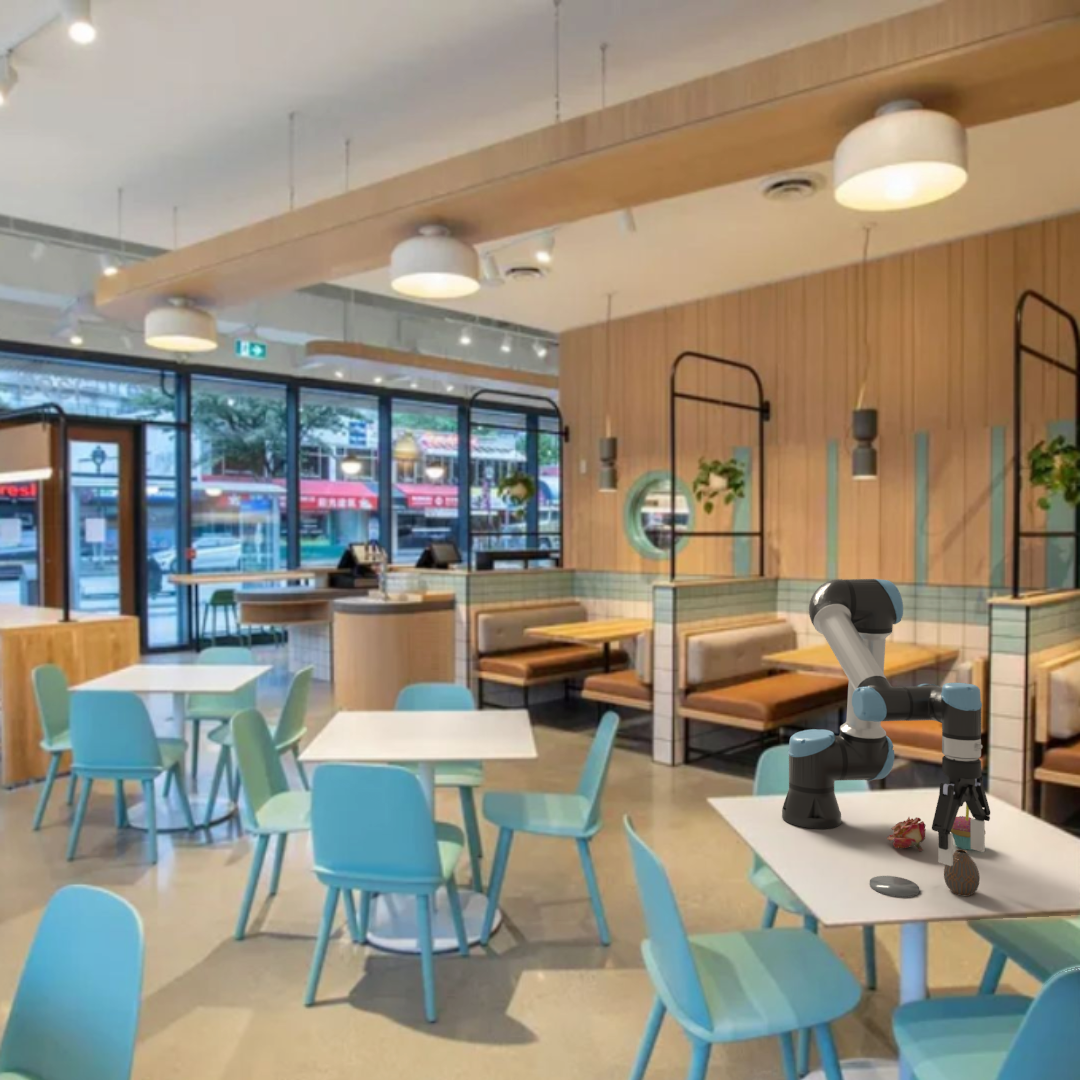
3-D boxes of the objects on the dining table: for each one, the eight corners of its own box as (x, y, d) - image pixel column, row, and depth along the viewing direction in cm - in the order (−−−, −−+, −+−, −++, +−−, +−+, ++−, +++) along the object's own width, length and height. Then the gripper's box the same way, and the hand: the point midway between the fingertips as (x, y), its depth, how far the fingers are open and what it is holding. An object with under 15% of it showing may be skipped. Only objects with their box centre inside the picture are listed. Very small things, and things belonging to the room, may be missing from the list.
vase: (937, 886, 191) (937, 845, 191) (967, 885, 192) (967, 845, 192) (954, 899, 184) (955, 857, 184) (986, 898, 185) (986, 856, 185)
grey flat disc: (860, 885, 191) (860, 883, 191) (885, 874, 197) (885, 872, 197) (903, 901, 183) (903, 898, 183) (928, 889, 189) (928, 886, 189)
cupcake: (989, 854, 210) (990, 804, 210) (951, 851, 212) (951, 801, 212) (979, 841, 218) (979, 793, 218) (942, 839, 220) (942, 791, 220)
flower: (937, 840, 214) (917, 810, 217) (937, 844, 206) (916, 813, 209) (902, 859, 217) (882, 828, 220) (900, 864, 209) (880, 832, 212)
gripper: (948, 769, 177) (949, 875, 177) (1007, 751, 192) (1007, 849, 192) (913, 762, 183) (914, 864, 183) (972, 745, 198) (973, 840, 198)
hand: (962, 857), depth 187 cm, fingers open, 13 cm apart
